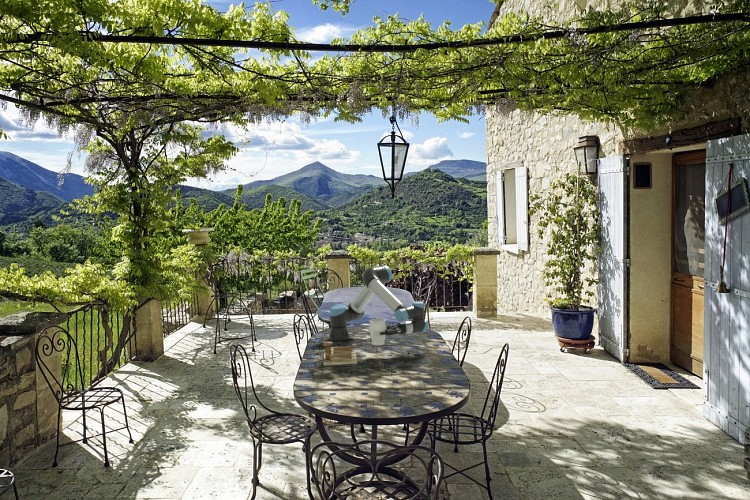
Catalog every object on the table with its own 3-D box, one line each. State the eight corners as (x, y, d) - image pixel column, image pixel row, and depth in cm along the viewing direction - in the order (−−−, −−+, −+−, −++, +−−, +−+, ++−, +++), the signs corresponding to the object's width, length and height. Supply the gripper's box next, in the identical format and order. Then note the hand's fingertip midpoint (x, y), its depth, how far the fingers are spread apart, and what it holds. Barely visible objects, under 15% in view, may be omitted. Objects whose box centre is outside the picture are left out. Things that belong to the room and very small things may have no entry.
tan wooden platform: (324, 355, 335) (323, 336, 334) (355, 353, 336) (355, 334, 335) (323, 365, 313) (322, 345, 312) (357, 363, 314) (356, 343, 313)
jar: (384, 346, 323) (384, 322, 322) (368, 345, 326) (367, 321, 324) (387, 341, 334) (387, 318, 332) (371, 341, 336) (371, 318, 334)
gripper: (411, 338, 324) (377, 342, 317) (398, 329, 346) (365, 333, 339) (411, 326, 324) (377, 329, 316) (397, 318, 345) (365, 322, 338)
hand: (371, 331), depth 328 cm, fingers closed on jar, 10 cm apart
